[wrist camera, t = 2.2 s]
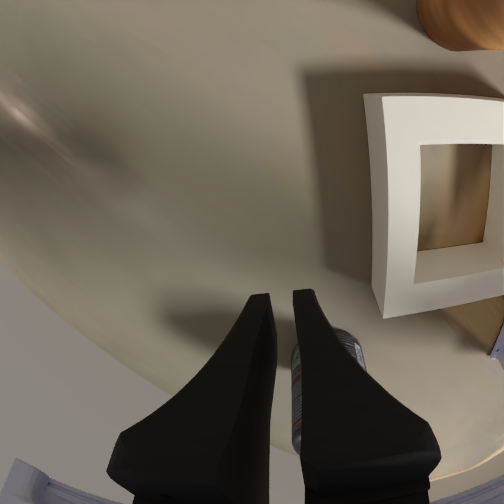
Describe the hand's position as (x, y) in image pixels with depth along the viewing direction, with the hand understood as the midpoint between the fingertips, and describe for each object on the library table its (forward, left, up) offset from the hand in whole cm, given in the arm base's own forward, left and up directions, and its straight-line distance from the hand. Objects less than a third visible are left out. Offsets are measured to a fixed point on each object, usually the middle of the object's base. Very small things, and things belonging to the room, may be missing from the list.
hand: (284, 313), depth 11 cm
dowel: (+12, -12, -9) cm, 19 cm away
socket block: (0, -11, -9) cm, 14 cm away
